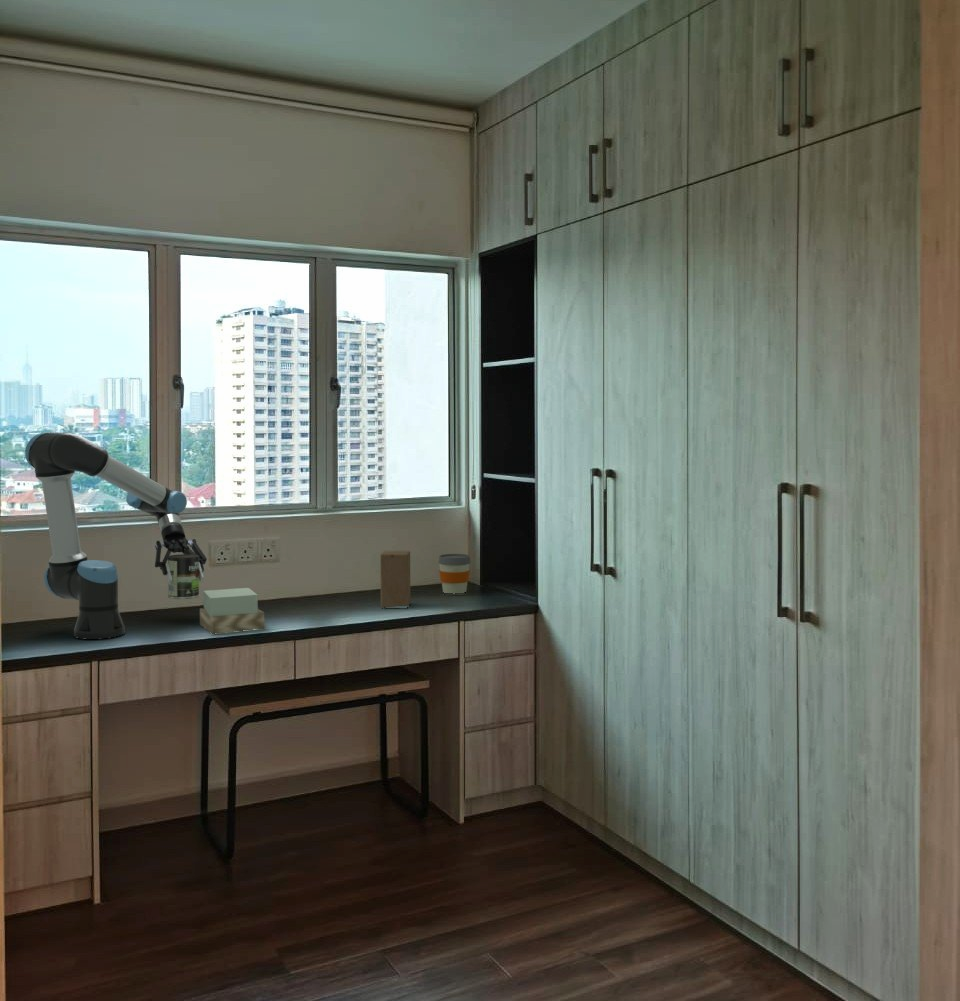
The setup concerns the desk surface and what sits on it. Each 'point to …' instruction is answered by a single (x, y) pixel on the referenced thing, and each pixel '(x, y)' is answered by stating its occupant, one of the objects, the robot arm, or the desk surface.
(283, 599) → the desk surface
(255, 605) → the sage top slab
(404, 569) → the wooden block
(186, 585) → the coffee can
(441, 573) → the reusable coffee cup
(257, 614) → the birch base slab
